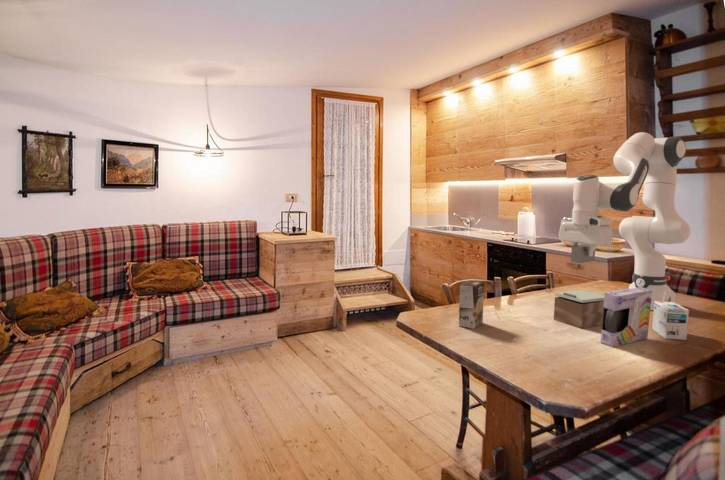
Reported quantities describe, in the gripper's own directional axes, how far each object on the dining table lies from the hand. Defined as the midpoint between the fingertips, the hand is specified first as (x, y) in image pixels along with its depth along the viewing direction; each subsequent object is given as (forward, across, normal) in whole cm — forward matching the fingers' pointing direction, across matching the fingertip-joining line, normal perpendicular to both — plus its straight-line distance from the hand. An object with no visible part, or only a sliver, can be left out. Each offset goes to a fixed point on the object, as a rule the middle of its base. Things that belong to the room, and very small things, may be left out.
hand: (583, 255), depth 164 cm
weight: (+2, 0, 0) cm, 2 cm away
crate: (+26, 0, 0) cm, 26 cm away
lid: (+17, 0, 0) cm, 17 cm away
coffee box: (+25, -16, -41) cm, 50 cm away
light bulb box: (+26, +24, +14) cm, 39 cm away
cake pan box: (+26, +22, -7) cm, 34 cm away
